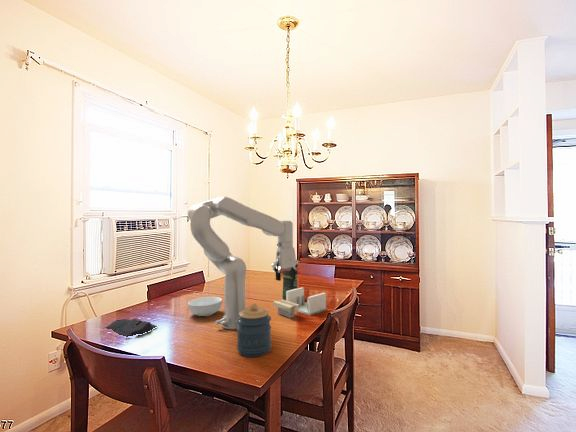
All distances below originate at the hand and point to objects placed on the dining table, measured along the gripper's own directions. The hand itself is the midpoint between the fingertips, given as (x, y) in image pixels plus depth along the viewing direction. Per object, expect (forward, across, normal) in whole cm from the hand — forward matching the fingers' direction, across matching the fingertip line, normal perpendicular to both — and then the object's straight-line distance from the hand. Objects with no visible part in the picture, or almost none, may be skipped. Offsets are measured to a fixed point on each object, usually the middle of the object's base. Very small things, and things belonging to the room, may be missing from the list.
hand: (285, 278), depth 158 cm
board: (+15, 0, 0) cm, 15 cm away
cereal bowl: (+19, -29, +30) cm, 46 cm away
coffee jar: (+18, +20, +19) cm, 33 cm away
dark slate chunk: (+20, -64, +34) cm, 75 cm away
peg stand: (+18, +14, 0) cm, 23 cm away
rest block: (+18, 0, 0) cm, 18 cm away
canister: (+19, -35, -22) cm, 45 cm away
